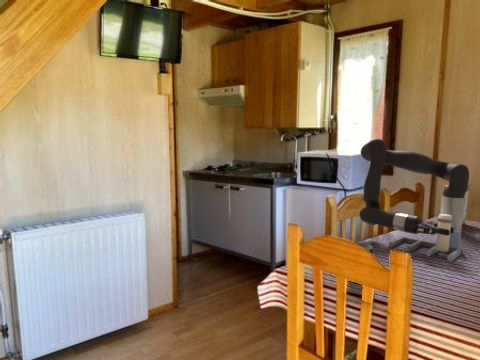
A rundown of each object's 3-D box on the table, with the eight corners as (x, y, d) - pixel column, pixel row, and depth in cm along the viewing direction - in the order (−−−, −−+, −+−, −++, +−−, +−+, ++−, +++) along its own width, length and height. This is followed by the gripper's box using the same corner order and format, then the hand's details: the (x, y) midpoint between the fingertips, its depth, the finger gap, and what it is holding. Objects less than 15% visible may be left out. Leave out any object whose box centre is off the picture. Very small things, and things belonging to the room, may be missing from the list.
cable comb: (400, 240, 173) (402, 220, 172) (463, 253, 156) (465, 232, 154) (387, 246, 164) (388, 225, 163) (452, 261, 146) (454, 238, 145)
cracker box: (449, 227, 197) (452, 186, 194) (438, 224, 202) (441, 185, 199) (466, 224, 203) (469, 185, 200) (455, 221, 209) (458, 183, 206)
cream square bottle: (432, 248, 154) (435, 213, 152) (443, 247, 155) (446, 213, 153) (440, 252, 150) (443, 216, 148) (451, 251, 150) (455, 216, 148)
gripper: (400, 217, 156) (446, 225, 144) (414, 211, 166) (458, 219, 154) (399, 235, 157) (444, 244, 145) (413, 228, 167) (456, 237, 155)
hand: (451, 231), depth 149 cm, fingers closed on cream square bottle, 4 cm apart
